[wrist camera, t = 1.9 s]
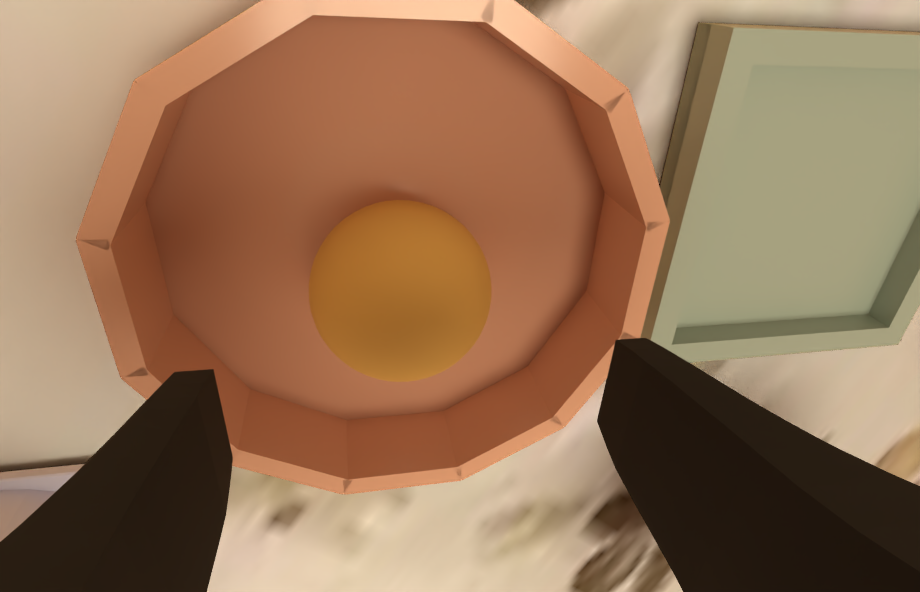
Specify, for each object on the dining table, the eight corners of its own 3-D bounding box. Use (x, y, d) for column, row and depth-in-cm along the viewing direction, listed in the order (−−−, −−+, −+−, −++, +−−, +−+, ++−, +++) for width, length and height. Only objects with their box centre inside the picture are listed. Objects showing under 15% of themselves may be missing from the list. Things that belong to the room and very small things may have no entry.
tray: (623, 340, 19) (643, 366, 18) (698, 22, 14) (733, 27, 13) (864, 322, 21) (897, 344, 20) (1005, 35, 16) (1061, 40, 15)
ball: (318, 323, 16) (313, 430, 12) (304, 176, 14) (293, 251, 10) (466, 314, 17) (503, 411, 13) (475, 174, 15) (522, 243, 11)
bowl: (189, 438, 18) (165, 515, 15) (62, -39, 11) (-16, -41, 9) (574, 401, 20) (608, 462, 18) (654, -7, 14) (726, -2, 11)
